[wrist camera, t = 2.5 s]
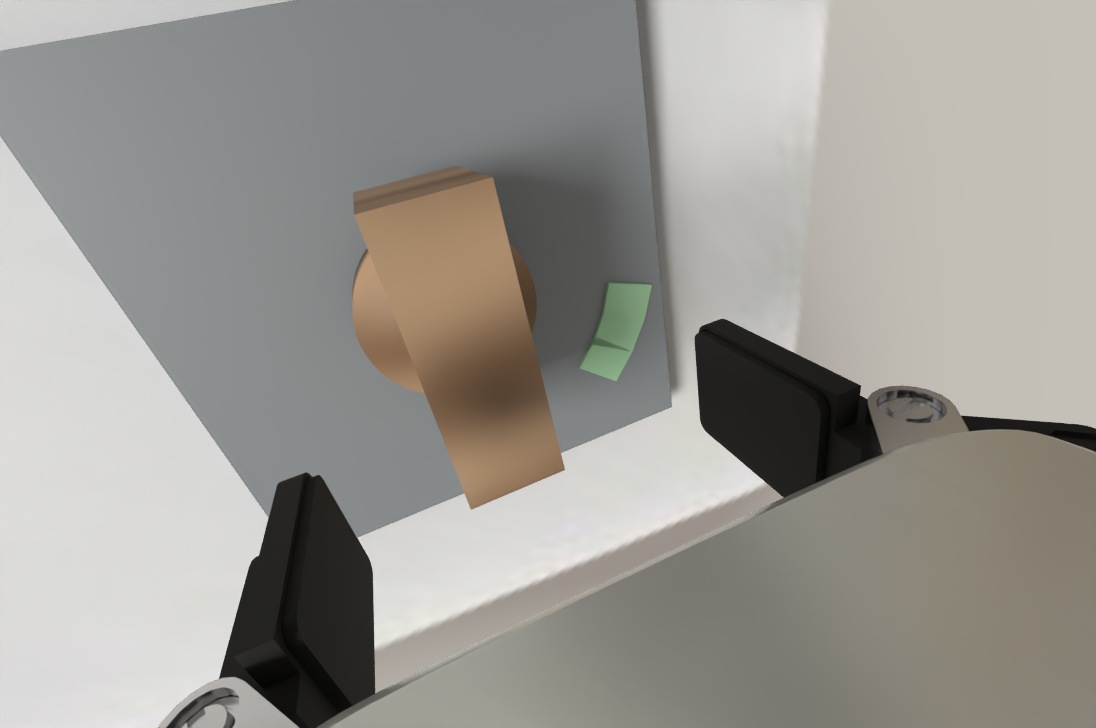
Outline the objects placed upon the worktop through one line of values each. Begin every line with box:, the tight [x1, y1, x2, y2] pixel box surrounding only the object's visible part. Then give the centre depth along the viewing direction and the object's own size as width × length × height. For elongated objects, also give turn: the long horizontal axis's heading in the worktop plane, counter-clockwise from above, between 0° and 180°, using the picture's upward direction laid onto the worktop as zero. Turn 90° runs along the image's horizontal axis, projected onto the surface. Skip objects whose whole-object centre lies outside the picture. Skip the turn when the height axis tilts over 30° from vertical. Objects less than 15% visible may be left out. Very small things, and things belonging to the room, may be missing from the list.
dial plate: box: [0, 0, 672, 537], centre depth 21 cm, size 21×21×2 cm
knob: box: [352, 166, 565, 509], centre depth 18 cm, size 15×7×7 cm, turn 12°
